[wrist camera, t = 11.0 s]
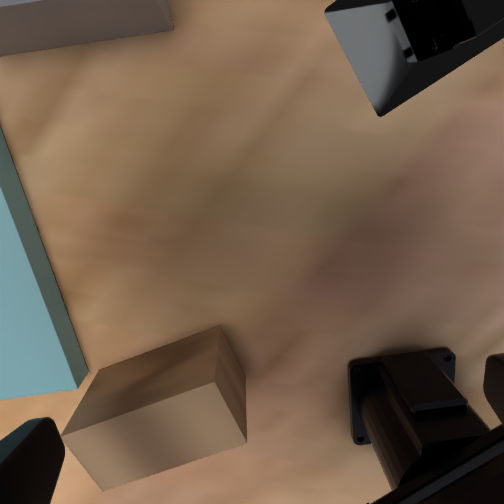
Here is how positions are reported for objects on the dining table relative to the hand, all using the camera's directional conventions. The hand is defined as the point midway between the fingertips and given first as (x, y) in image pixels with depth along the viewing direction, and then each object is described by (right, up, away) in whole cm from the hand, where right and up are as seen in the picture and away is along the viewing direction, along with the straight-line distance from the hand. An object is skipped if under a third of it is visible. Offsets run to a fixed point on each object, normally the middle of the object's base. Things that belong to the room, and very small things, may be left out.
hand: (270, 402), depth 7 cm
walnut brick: (-5, -4, +14) cm, 16 cm away
